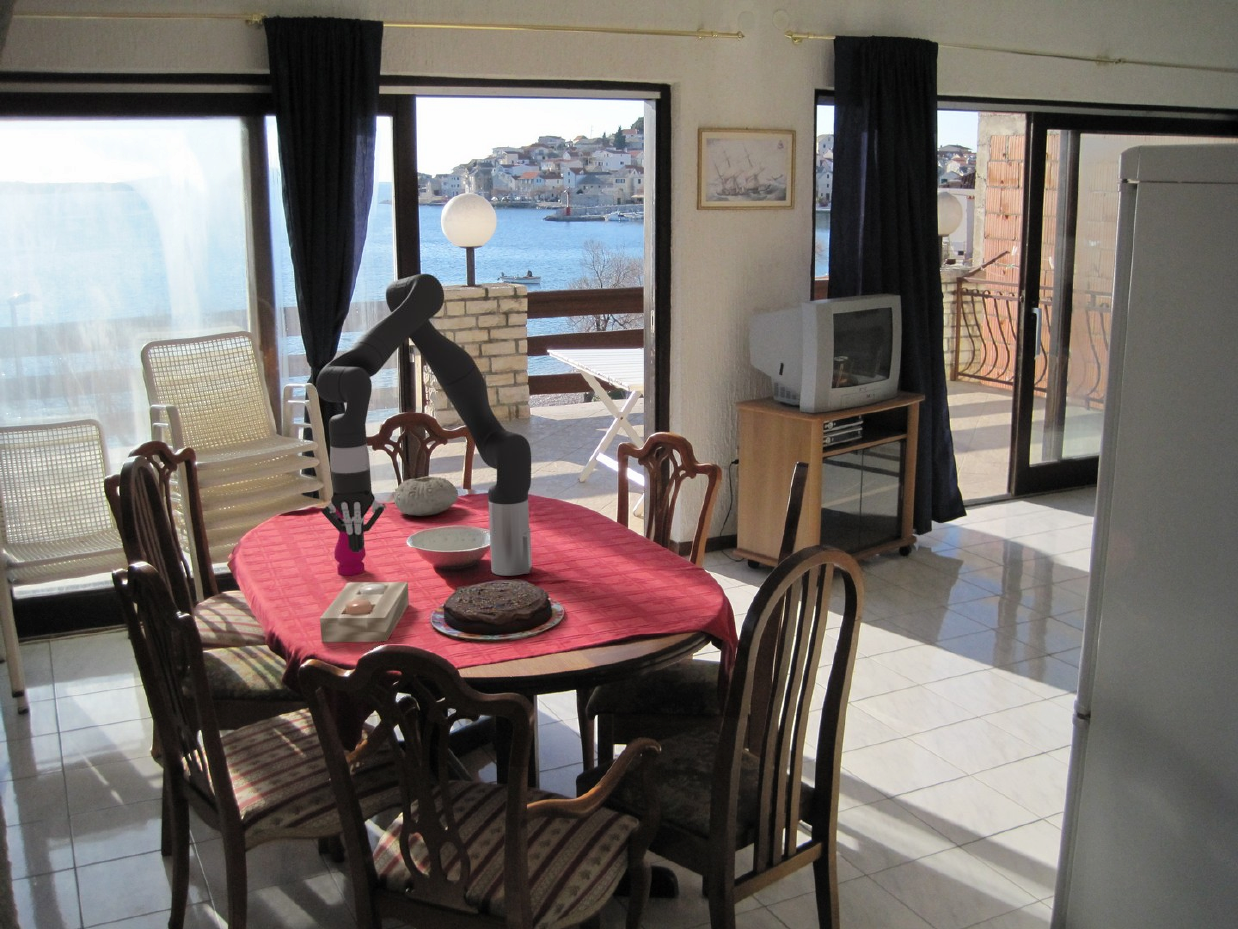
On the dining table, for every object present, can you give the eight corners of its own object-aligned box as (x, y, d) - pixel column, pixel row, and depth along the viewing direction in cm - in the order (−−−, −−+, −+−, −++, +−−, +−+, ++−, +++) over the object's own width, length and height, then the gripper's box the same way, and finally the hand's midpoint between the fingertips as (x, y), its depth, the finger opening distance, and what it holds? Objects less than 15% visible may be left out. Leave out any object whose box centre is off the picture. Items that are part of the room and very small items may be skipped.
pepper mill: (359, 577, 273) (353, 494, 268) (330, 575, 274) (324, 493, 270) (371, 567, 280) (366, 486, 275) (343, 566, 281) (337, 485, 277)
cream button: (387, 599, 251) (386, 584, 250) (382, 607, 246) (381, 591, 245) (364, 599, 251) (363, 584, 251) (358, 607, 246) (357, 591, 246)
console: (409, 604, 254) (407, 582, 253) (386, 641, 232) (384, 617, 231) (349, 604, 254) (348, 582, 253) (321, 642, 233) (319, 618, 232)
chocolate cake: (452, 654, 226) (451, 622, 225) (414, 609, 251) (413, 580, 250) (585, 630, 238) (585, 600, 236) (536, 590, 263) (536, 562, 261)
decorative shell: (397, 506, 336) (395, 472, 334) (459, 503, 338) (458, 469, 336) (392, 522, 319) (390, 487, 316) (458, 519, 321) (456, 484, 318)
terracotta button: (374, 615, 239) (373, 599, 239) (368, 624, 234) (367, 608, 234) (350, 615, 239) (349, 600, 239) (343, 624, 235) (342, 608, 234)
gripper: (387, 462, 234) (393, 545, 238) (322, 463, 234) (329, 546, 238) (379, 470, 227) (385, 556, 231) (311, 472, 227) (319, 557, 231)
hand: (356, 551), depth 234 cm, fingers closed
